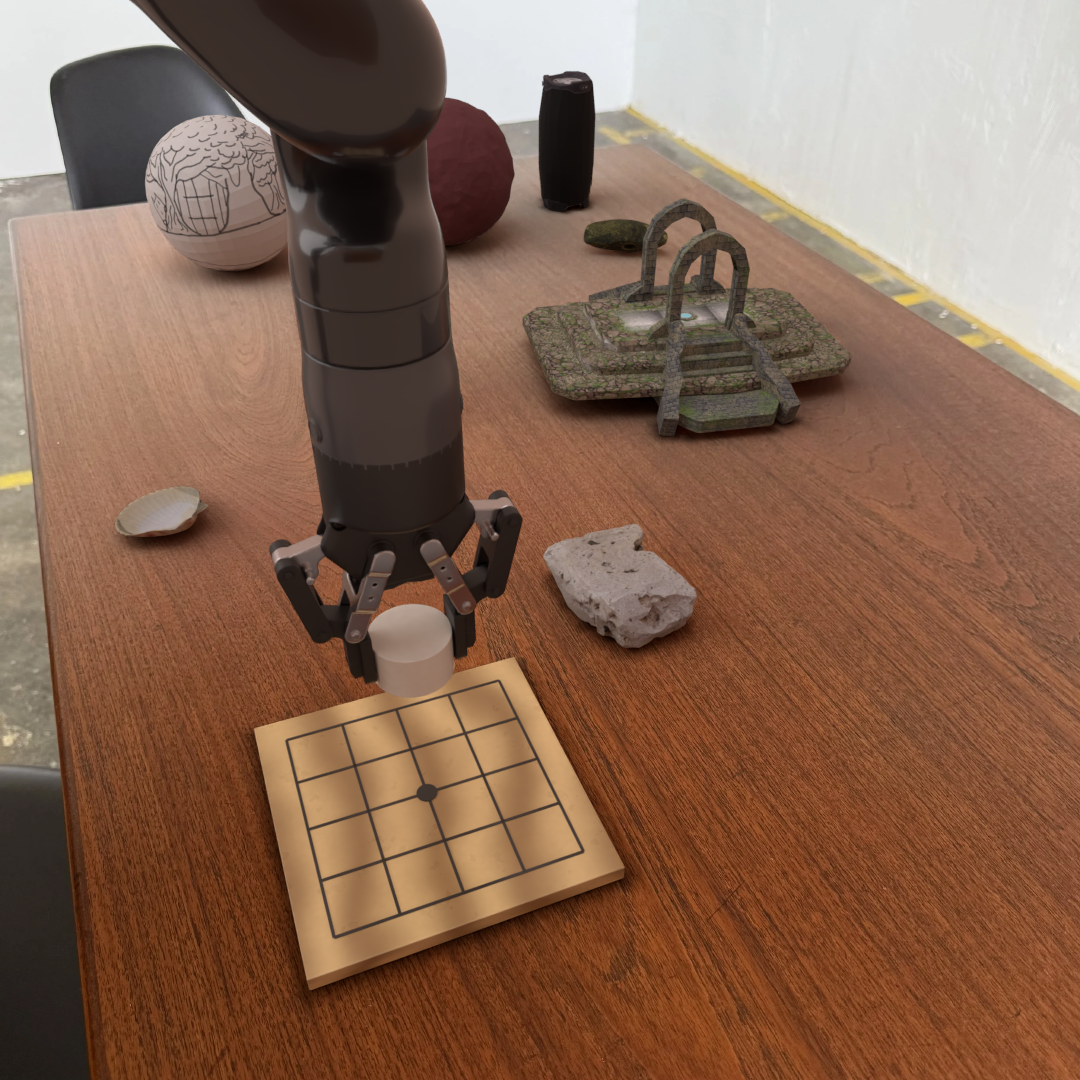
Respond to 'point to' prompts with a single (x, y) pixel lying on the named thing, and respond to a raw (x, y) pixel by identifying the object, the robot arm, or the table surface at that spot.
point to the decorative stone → (619, 235)
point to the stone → (620, 585)
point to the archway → (687, 339)
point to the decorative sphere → (468, 171)
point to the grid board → (426, 819)
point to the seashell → (161, 512)
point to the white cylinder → (412, 650)
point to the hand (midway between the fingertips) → (412, 660)
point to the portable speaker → (566, 139)
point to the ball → (218, 193)
